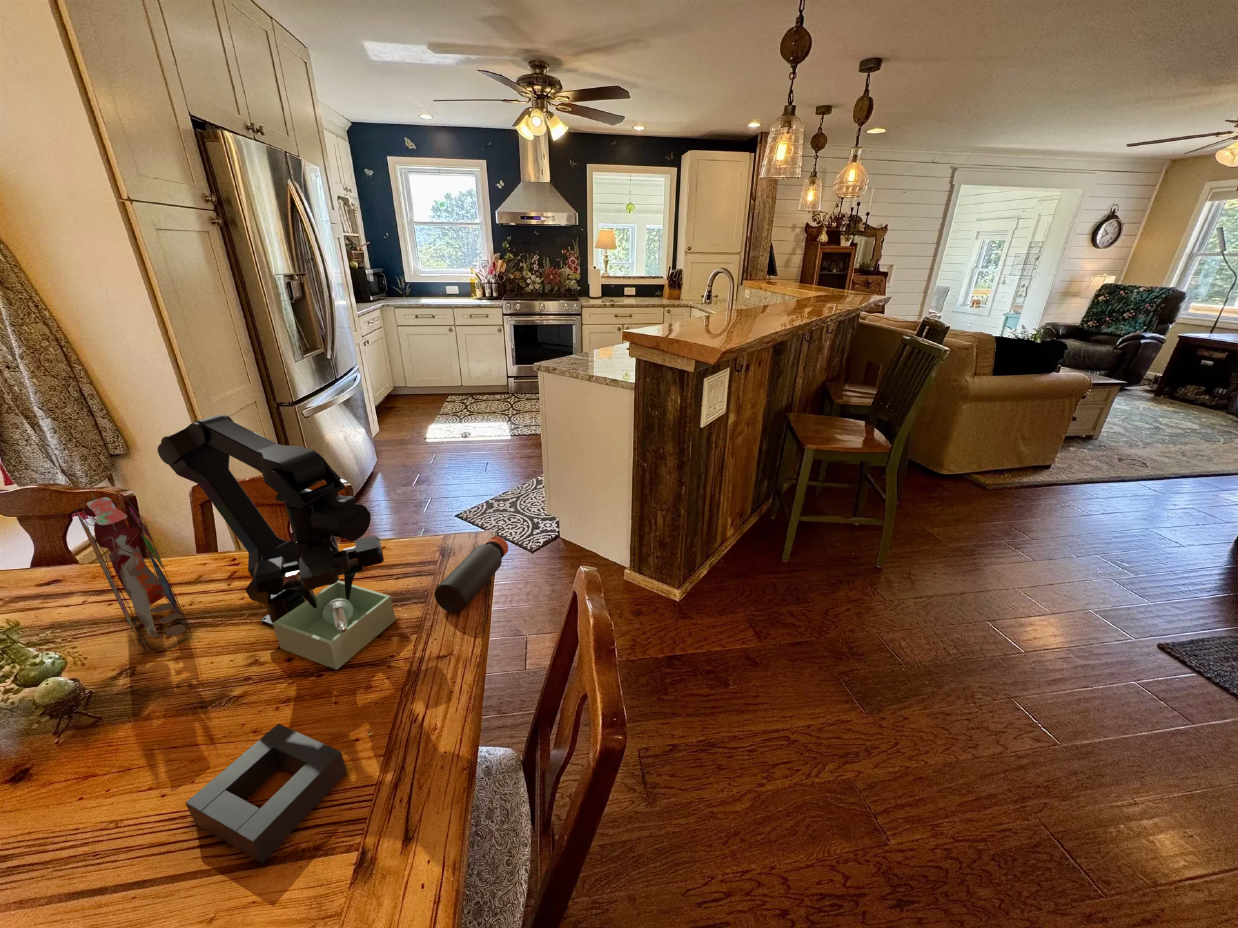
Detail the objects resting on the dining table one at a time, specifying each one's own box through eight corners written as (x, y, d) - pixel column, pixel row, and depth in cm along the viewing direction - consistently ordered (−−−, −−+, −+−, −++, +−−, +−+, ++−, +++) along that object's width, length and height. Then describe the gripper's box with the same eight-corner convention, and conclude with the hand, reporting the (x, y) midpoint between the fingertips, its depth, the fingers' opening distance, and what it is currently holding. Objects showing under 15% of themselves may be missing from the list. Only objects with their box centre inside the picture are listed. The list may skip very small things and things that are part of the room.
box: (115, 600, 97) (63, 489, 88) (155, 585, 102) (110, 478, 92) (148, 658, 84) (91, 534, 74) (193, 638, 88) (145, 519, 79)
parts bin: (280, 648, 86) (272, 623, 84) (343, 603, 98) (337, 579, 95) (336, 669, 82) (329, 643, 80) (395, 619, 93) (391, 595, 91)
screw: (353, 617, 94) (324, 624, 91) (350, 592, 93) (320, 599, 91) (361, 639, 83) (328, 648, 80) (357, 611, 83) (323, 619, 80)
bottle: (469, 597, 92) (516, 542, 110) (439, 578, 92) (491, 527, 110) (458, 620, 95) (506, 563, 113) (429, 601, 95) (481, 548, 113)
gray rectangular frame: (195, 824, 60) (184, 802, 58) (285, 743, 70) (278, 722, 68) (262, 863, 56) (252, 841, 54) (347, 771, 66) (341, 751, 64)
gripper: (236, 566, 70) (264, 650, 76) (379, 534, 79) (394, 612, 85) (245, 530, 79) (270, 608, 85) (372, 506, 88) (387, 578, 94)
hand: (332, 602), depth 87 cm, fingers open, 5 cm apart
